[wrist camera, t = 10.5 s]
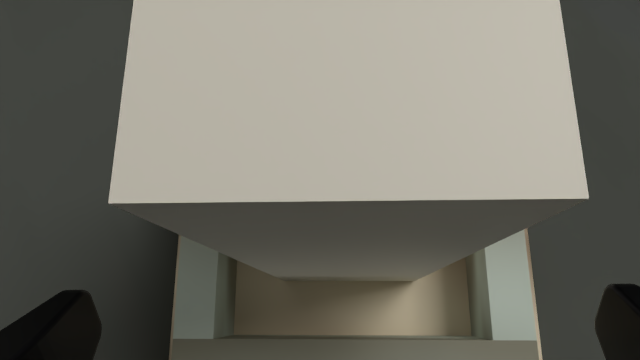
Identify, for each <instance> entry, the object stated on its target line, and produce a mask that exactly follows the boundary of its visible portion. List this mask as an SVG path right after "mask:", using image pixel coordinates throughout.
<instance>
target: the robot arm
mask: <svg viewBox="0 0 640 360" xmlns="http://www.w3.org/2000/svg"><path fill="white" fill-rule="evenodd" d="M101 330H102V327H101V321H100V318H99V316H98V313H97V310H96V308H95V305H94V302H93V300H92V297H91V295H90V293H89V292H87V291H85V290H65V291H62V292H60V293H58V294H57V295H55V296H54V297H52V298H50V299H49V300H47V301H46V302H44V303H43V304H41V305H40V306H38V307H37V308H35V309H33V310H32V311H30V312H29V313H27V314H26V315H24V316H23V317H21V318H19V319H18V320H16V321H15V322H13V323H12V324H10V325H9V326H7V327H6V328H4V329H2V330H1V331H0V360H93V358H94V355H95V352H96V349H97V346H98V343H99V340H100V336H101ZM595 330H596V334H597V337H598V340H599V342H600V345H601V348H602V350H603V353H604V356H605V358H606V360H640V287H639V286H637V285H635V284H610V285H608V286H607V287H606V288H605V290H604V292H603V296H602V299H601V302H600V305H599V308H598V311H597V314H596V318H595Z"/></svg>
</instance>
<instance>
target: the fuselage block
mask: <svg viewBox="0 0 640 360" xmlns="http://www.w3.org/2000/svg"><path fill="white" fill-rule="evenodd" d="M587 199H589V195H588V188H587V182H586V175H585V168H584V162H583V155H582V148H581V142H580V135H579V128H578V122H577V115H576V108H575V102H574V95H573V88H572V82H571V75H570V68H569V61H568V55H567V48H566V41H565V35H564V28H563V21H562V15H561V8H560V1H559V0H134V2H133V10H132V18H131V26H130V34H129V42H128V50H127V58H126V66H125V74H124V82H123V90H122V98H121V106H120V114H119V122H118V130H117V138H116V146H115V154H114V162H113V170H112V178H111V186H110V194H109V202H108V204H111V205H113V206H115V207H117V208H120V209H122V210H124V211H126V212H129V213H131V214H133V215H136V216H138V217H140V218H142V219H145V220H147V221H149V222H151V223H154V224H156V225H158V226H161V227H163V228H165V229H167V230H170V231H172V232H174V233H177V234H179V235H181V236H183V237H186V238H188V239H190V240H192V241H195V242H197V243H199V244H202V245H204V246H206V247H208V248H211V249H213V250H215V251H217V252H220V253H222V254H224V255H227V256H229V257H231V258H233V259H236V260H238V261H240V262H242V263H245V264H247V265H249V266H252V267H254V268H256V269H258V270H261V271H263V272H265V273H267V274H270V275H272V276H274V277H277V278H279V279H281V280H283V281H416V280H418V279H420V278H422V277H424V276H426V275H429V274H431V273H433V272H435V271H437V270H439V269H441V268H443V267H446V266H448V265H450V264H452V263H454V262H456V261H458V260H460V259H462V258H465V257H467V256H469V255H471V254H473V253H475V252H477V251H479V250H481V249H484V248H486V247H488V246H490V245H492V244H494V243H496V242H498V241H500V240H503V239H505V238H507V237H509V236H511V235H513V234H515V233H517V232H520V231H522V230H524V229H526V228H528V227H530V226H532V225H534V224H536V223H539V222H541V221H543V220H545V219H547V218H549V217H551V216H553V215H555V214H558V213H560V212H562V211H564V210H566V209H568V208H570V207H572V206H574V205H577V204H579V203H581V202H583V201H585V200H587Z"/></svg>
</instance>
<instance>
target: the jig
mask: <svg viewBox="0 0 640 360" xmlns="http://www.w3.org/2000/svg"><path fill="white" fill-rule="evenodd" d="M169 360H542V352H541V344H540V335H539V326H538V318H537V309H536V301H535V292H534V283H533V275H532V266H531V257H530V249H529V240H528V231H527V228H526V229H524V230H522V231H520V232H517V233H515V234H513V235H511V236H509V237H507V238H505V239H503V240H500V241H498V242H496V243H494V244H492V245H490V246H488V247H486V248H484V249H481V250H479V251H477V252H475V253H473V254H471V255H469V256H467V257H465V258H462V259H460V260H458V261H456V262H454V263H452V264H450V265H448V266H446V267H443V268H441V269H439V270H437V271H435V272H433V273H431V274H429V275H426V276H424V277H422V278H420V279H418V280H416V281H283V280H281V279H279V278H277V277H274V276H272V275H270V274H267V273H265V272H263V271H261V270H258V269H256V268H254V267H252V266H249V265H247V264H245V263H242V262H240V261H238V260H236V259H233V258H231V257H229V256H227V255H224V254H222V253H220V252H217V251H215V250H213V249H211V248H208V247H206V246H204V245H202V244H199V243H197V242H195V241H192V240H190V239H188V238H186V237H183V236H181V235H179V239H178V251H177V264H176V276H175V288H174V301H173V313H172V326H171V338H170V351H169Z"/></svg>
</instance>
